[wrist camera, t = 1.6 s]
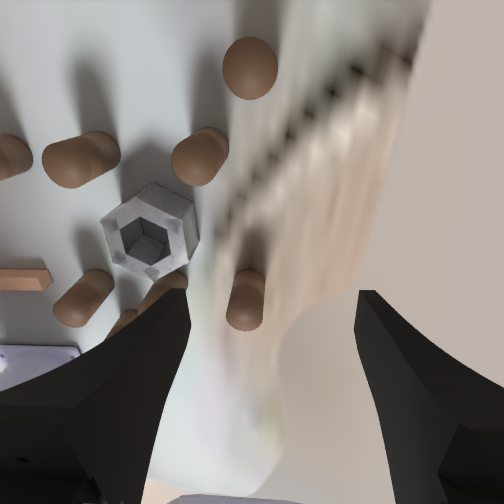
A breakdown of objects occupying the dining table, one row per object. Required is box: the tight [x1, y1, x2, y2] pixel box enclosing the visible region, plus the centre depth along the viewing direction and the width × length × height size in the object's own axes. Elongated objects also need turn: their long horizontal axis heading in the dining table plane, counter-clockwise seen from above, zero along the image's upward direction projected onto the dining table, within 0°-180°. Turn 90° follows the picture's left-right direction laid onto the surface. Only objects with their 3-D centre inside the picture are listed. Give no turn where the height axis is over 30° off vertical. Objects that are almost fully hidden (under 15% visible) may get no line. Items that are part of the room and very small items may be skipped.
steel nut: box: [100, 182, 200, 281], centre depth 21 cm, size 6×5×3 cm
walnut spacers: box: [0, 37, 278, 341], centre depth 21 cm, size 20×18×4 cm
